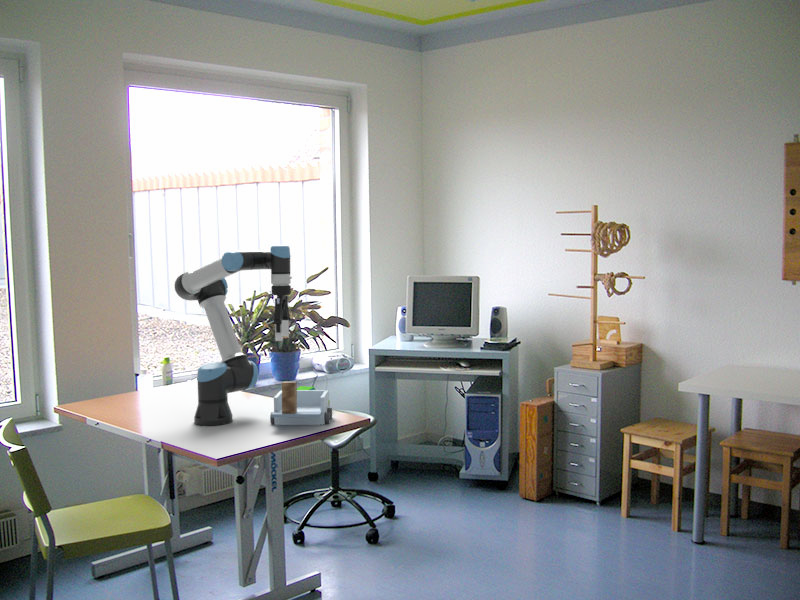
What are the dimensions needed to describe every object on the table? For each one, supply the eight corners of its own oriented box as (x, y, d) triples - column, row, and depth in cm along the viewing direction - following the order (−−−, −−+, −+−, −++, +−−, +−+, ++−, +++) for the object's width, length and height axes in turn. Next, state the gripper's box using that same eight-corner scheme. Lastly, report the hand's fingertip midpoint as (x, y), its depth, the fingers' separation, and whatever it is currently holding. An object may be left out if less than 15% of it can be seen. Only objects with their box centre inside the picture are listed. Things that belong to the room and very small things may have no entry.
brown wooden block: (282, 413, 298) (281, 382, 298) (284, 411, 303) (284, 381, 303) (294, 413, 298) (294, 382, 298) (296, 411, 303) (296, 381, 303)
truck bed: (270, 424, 306) (269, 397, 305) (277, 416, 320) (276, 390, 319) (328, 424, 305) (328, 397, 304) (332, 416, 319) (332, 390, 319)
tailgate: (274, 415, 304) (270, 418, 296) (274, 411, 304) (270, 414, 296) (322, 415, 304) (319, 418, 296) (322, 411, 304) (319, 414, 296)
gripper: (284, 286, 288) (286, 342, 290) (295, 282, 313) (296, 334, 315) (265, 287, 288) (266, 342, 290) (277, 282, 313) (278, 334, 315)
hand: (282, 338), depth 302 cm, fingers open, 13 cm apart
